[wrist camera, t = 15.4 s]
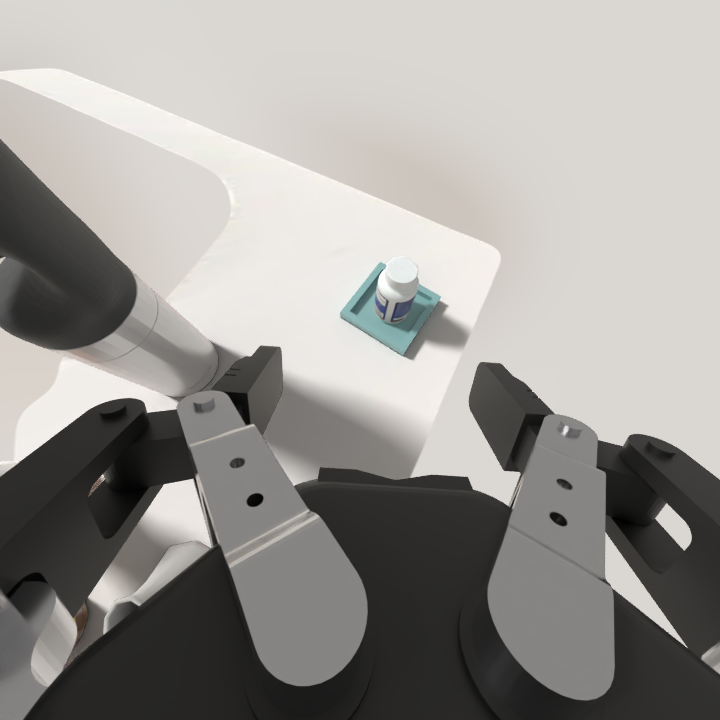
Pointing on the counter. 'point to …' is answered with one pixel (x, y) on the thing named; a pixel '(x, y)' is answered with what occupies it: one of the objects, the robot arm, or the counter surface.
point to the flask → (156, 580)
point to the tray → (390, 335)
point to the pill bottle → (396, 290)
